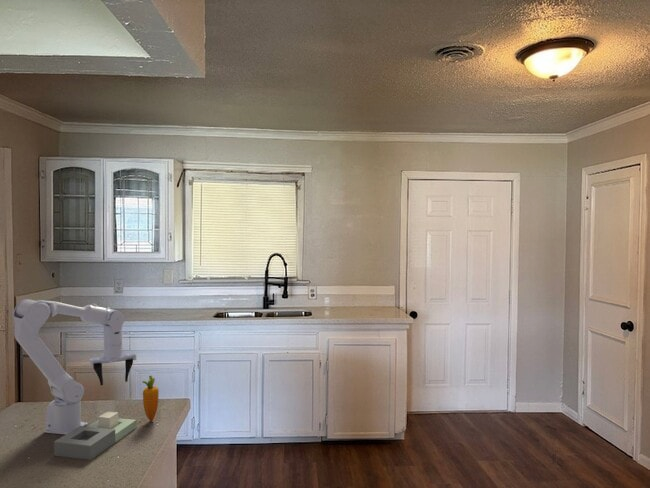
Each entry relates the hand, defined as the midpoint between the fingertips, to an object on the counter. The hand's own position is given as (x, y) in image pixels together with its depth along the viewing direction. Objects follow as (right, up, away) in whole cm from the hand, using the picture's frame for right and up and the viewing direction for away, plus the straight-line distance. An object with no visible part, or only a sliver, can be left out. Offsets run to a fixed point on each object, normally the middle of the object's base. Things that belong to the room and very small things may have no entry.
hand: (114, 382), depth 152 cm
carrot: (+16, -11, -7) cm, 20 cm away
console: (+5, -11, -20) cm, 24 cm away
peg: (+6, -11, -15) cm, 20 cm away
